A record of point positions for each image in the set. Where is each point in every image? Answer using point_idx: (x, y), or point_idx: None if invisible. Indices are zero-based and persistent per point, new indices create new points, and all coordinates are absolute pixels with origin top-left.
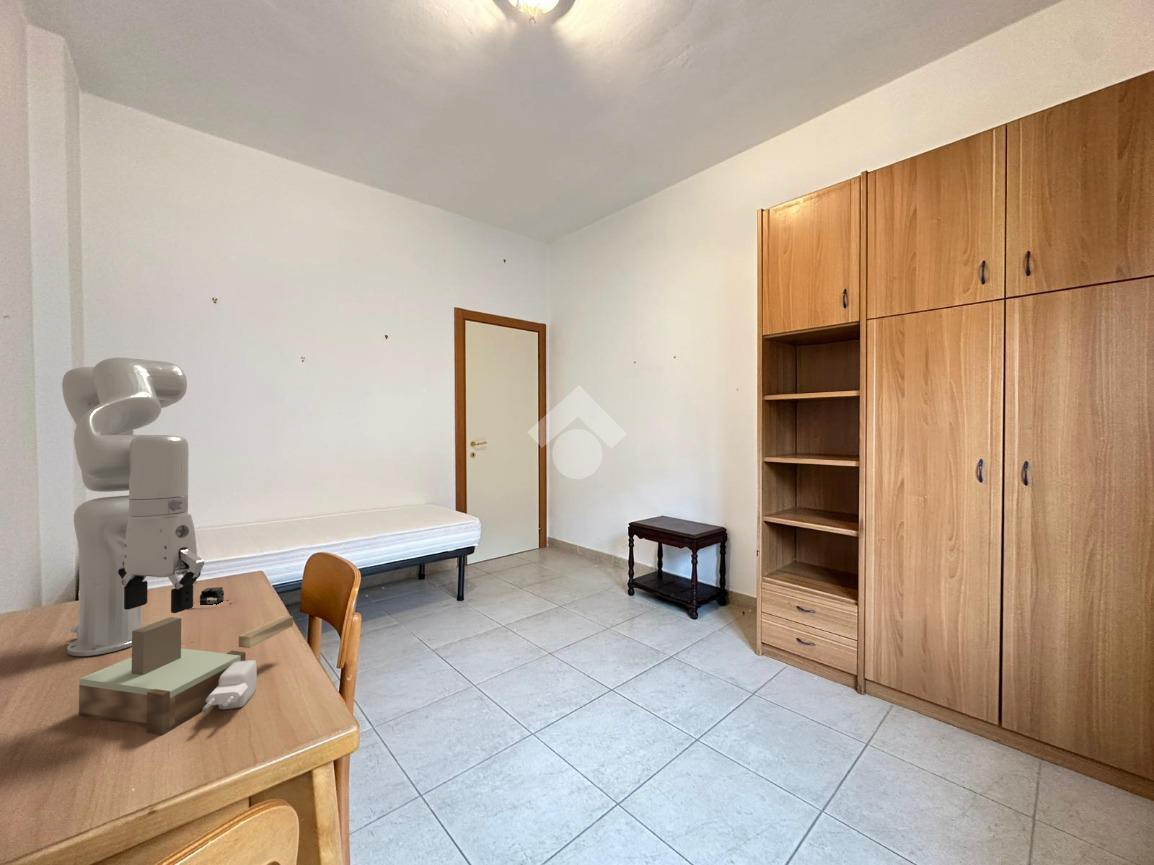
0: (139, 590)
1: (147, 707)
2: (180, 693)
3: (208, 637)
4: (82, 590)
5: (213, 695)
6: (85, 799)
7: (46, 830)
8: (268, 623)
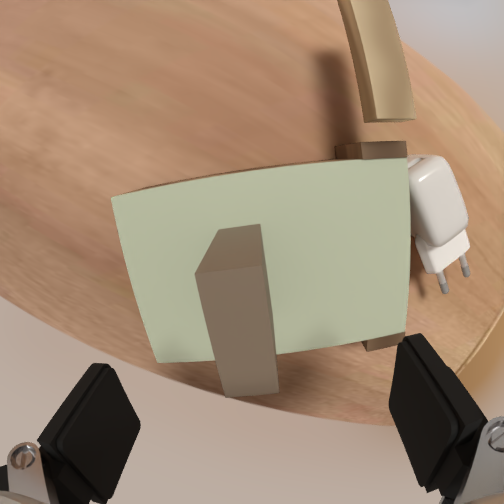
0: (94, 445)
1: None
2: None
3: (56, 46)
4: None
5: (441, 269)
6: None
7: None
8: (365, 17)
